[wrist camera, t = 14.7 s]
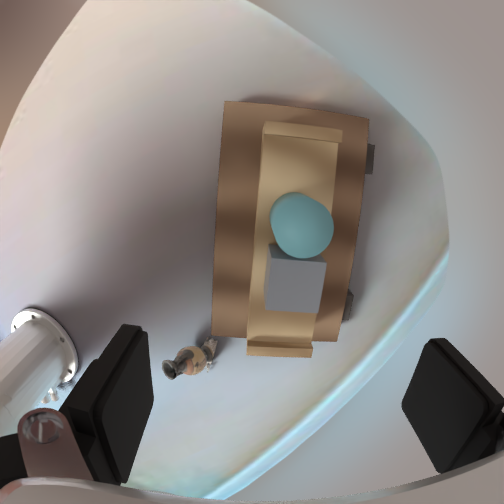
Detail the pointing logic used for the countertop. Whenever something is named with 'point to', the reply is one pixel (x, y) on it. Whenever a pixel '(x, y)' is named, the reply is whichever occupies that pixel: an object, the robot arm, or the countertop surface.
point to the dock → (245, 205)
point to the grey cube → (293, 281)
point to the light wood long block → (269, 190)
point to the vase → (190, 360)
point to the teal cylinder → (301, 225)
